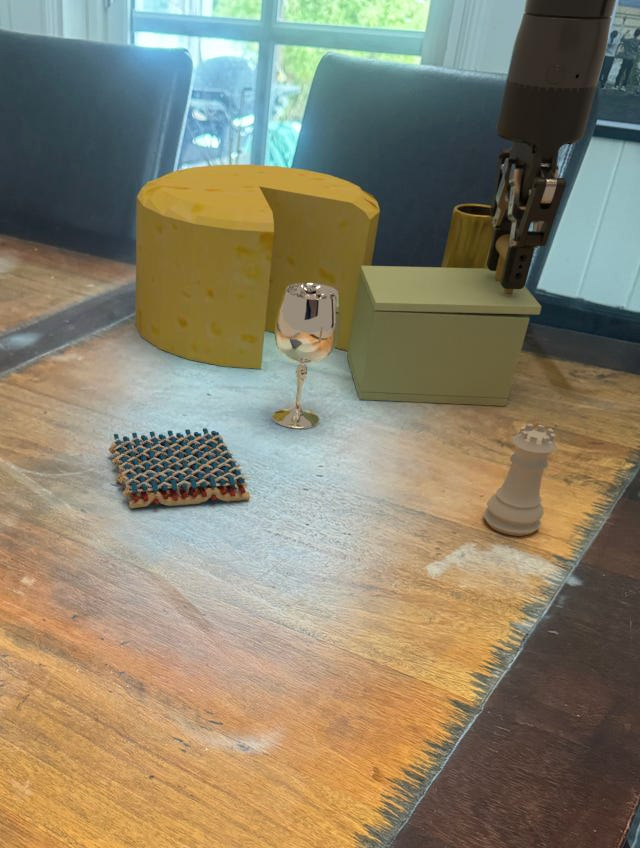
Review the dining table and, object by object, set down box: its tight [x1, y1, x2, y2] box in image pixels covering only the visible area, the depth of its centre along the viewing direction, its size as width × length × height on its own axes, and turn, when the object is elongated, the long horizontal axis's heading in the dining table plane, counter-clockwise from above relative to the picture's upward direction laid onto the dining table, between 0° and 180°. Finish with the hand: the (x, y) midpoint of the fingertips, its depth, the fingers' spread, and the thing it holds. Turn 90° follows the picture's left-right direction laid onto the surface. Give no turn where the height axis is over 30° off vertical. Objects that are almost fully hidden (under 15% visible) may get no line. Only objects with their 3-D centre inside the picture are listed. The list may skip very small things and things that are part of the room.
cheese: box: [134, 164, 381, 370], centre depth 105 cm, size 26×26×15 cm
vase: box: [440, 203, 497, 269], centre depth 103 cm, size 6×6×14 cm
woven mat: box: [107, 427, 251, 509], centre depth 79 cm, size 10×11×2 cm
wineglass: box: [272, 283, 340, 430], centre depth 86 cm, size 6×6×12 cm
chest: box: [346, 274, 530, 407], centre depth 96 cm, size 15×12×9 cm
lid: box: [360, 234, 542, 316], centre depth 91 cm, size 15×12×5 cm
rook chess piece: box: [483, 423, 558, 537], centre depth 73 cm, size 4×4×8 cm
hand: (504, 277), depth 92 cm, fingers closed on lid, 5 cm apart
